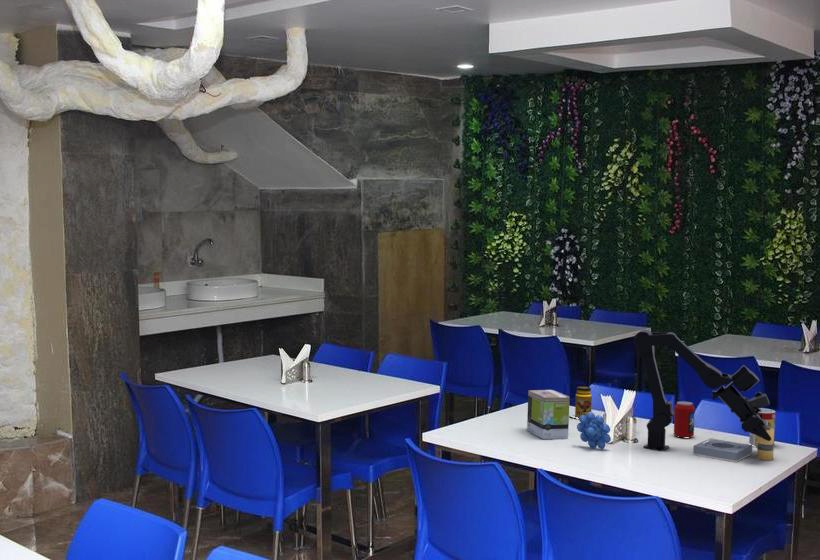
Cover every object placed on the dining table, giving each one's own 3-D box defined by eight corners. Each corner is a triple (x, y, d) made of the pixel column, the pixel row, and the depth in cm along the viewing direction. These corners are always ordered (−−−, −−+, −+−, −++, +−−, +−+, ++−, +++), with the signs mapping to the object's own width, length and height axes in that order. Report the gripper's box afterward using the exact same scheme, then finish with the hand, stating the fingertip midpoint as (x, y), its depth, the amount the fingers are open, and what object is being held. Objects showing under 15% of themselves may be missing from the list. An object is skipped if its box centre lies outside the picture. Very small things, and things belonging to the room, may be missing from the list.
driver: (770, 461, 299) (771, 423, 298) (754, 458, 302) (755, 420, 301) (775, 458, 302) (776, 420, 302) (759, 455, 305) (761, 418, 305)
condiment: (583, 421, 354) (583, 389, 354) (566, 417, 361) (567, 386, 360) (596, 419, 359) (597, 387, 358) (580, 415, 365) (581, 384, 365)
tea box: (569, 438, 325) (570, 396, 324) (542, 440, 323) (543, 397, 322) (552, 429, 340) (553, 388, 339) (526, 430, 337) (527, 389, 336)
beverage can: (696, 439, 327) (697, 404, 327) (676, 438, 328) (677, 404, 327) (690, 434, 334) (691, 401, 333) (671, 434, 334) (672, 400, 334)
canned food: (778, 448, 316) (780, 412, 316) (756, 448, 315) (758, 413, 314) (766, 442, 324) (767, 407, 323) (744, 443, 323) (746, 408, 322)
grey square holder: (736, 462, 296) (736, 452, 296) (693, 454, 305) (693, 445, 305) (752, 454, 307) (752, 444, 307) (710, 447, 316) (710, 437, 316)
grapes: (571, 448, 311) (572, 412, 310) (578, 444, 317) (579, 409, 316) (606, 453, 305) (607, 416, 305) (612, 449, 311) (613, 413, 310)
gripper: (754, 389, 293) (791, 428, 290) (755, 380, 311) (789, 416, 307) (726, 412, 296) (762, 451, 293) (728, 402, 314) (763, 438, 311)
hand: (770, 438), depth 301 cm, fingers closed on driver, 5 cm apart
